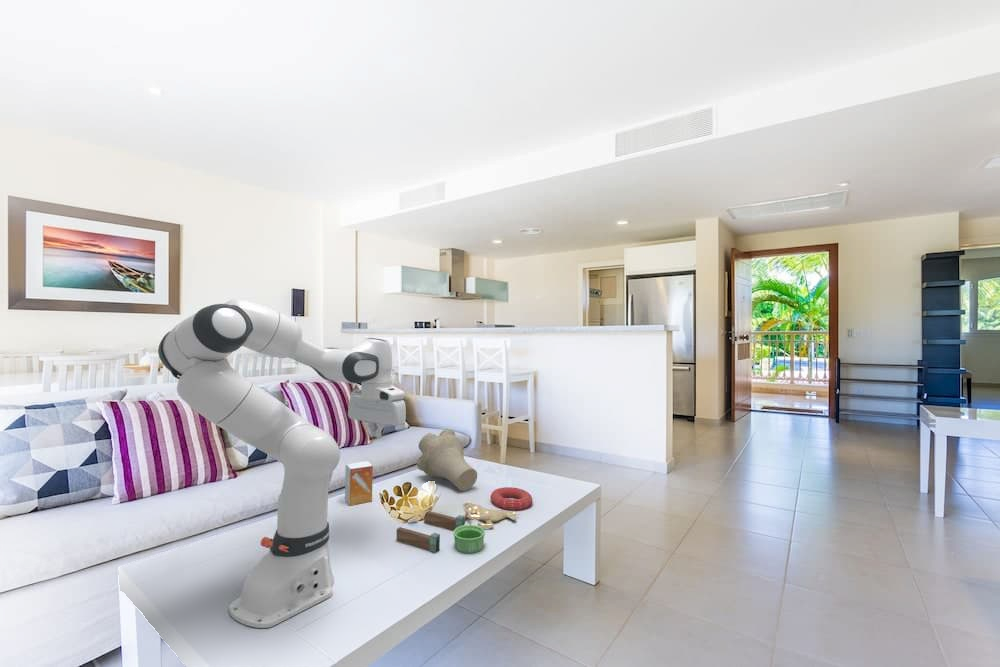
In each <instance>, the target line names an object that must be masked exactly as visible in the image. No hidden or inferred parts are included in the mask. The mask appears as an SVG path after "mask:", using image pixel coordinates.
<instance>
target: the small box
mask: <svg viewBox="0 0 1000 667" xmlns="http://www.w3.org/2000/svg"><path fill="white" fill-rule="evenodd" d="M373 467H374V466H373V464H371V463H370V462H369V460H365V461H359V462H353V463H347V464H345V475H344V476H345V483H344V500H345V502H346V503H347V504H348V506H354V505H359V504H364V503H365V504H366V503H372V501H373V480H374V479H373V472H374V470H373V469H374V468H373Z"/></svg>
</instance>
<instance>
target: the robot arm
mask: <svg viewBox="0 0 1000 667" xmlns="http://www.w3.org/2000/svg"><path fill="white" fill-rule="evenodd" d="M241 347H244V348H246V349H249V350H252V351H254V352H257V353H259V354H262V355H265V356H269V357H273V358H279V359H286V358H288V359H290V360H291V359H292V360H294V361H296V362H298V363H300V364H304V365H305V366H308V367H310V368H311V369H313V370H314V371H315V372H316V374H318V376H319V377H321V378H322V379H323V380H325V381H328V382H339V383H345V384H346V383H347V384H353V385H354V384H360V383H361V384H360V385H361V389H357V388H354V389H353V390H352V391H351V392H350V398H349V402H348V411H347V416H348V418H349V419H350V420H355V421H362V422H367V423H366V425H367V428H368V431H369V436H370V437H372V438H376V439H377V438H382V431H384V430H383V429H384V427H385V425H387V426H394V427H399V426H402V425H404V424H405V422H406V420H407V409H406V402H405V400H404V399H405V398H406V392H405V391H404V390H402V389H400V388H398V387H396V386H394V385H393V384H392V378H391V372H392V371H391V370H392V368H393V367H392V366H393V355H392V347H391V344H390V342H389V341H387V340H385V339H381V338H375V337H367V338H365V339H364V340H363V341H362V342H361V343H360V344H357V346H354V347H352V348H350V349H346V348H345V349H344V348H339V347H321V346H319V345H317V344H315V343H313V342H311V341H309V340H306V339H304V338H303V330H302V328H301V325H300V324H299V323H298V322H297V321H295V320H294V319H293V318H291V317H290V316H288V315H286V314H284V313H283V312H280V311H278V310H276V309H274V308H271V307H270V306H269V307H268V306H265V305H264V304H260V303H258V302H254V301H250V300H246V299H243V298H233V299H230V300H228V301H226V302H225V303H216V304H210V305H208V306H205V307H203V308H201V309H200V310H198V311H197V312H196V313H194V314H192V315H190V316H189V317H187V318H184V319H183V320H181V321H180V322H179V323H177V324H176V325H175V326H174V327H173V328H172V329H171V330H170V331H168V332H167V333H166V334H164V336H163V337H162V339H161V341H160V342H159V345H158V350H157V352H158V353H157V354H158V357H159V359H160V361H161V363H162V364H163V366H164V367H165V368H166V369H167V370H168V371H170V373H171V375H172V376H173V377H174V378H175V379H178V382H177V386H176V391H177V394H178V396H179V398H180V399H182V400H183V402H185V403H186V405H188V406H189V407H190V408H191V409H193V410H194V411H195V412H197V414H199V415H201V416H202V417H203V418H205V419H206V420H208V421H209V422H211V423H212V424H214V425H216V426H217V427H219V428H221V429H222V430H223V431H226V432H227V433H229V434H230V435H232V436H234V437H235V438H237V439H239V440H240V441H242V442H244V443H245V444H248V445H249V446H252V447H253V448H255V449H257V450H259V451H261V452H263V453H265V454H266V455H269V456H270V457H272V458H273V459H275V460H276V461H278V462H280V463H281V464H282V465H283V470H284V473H283V474H284V476H283V482H282V488H281V490H280V493H279V495H278V498H277V518H276V520H277V521H276V522H277V526H276V527H277V529H276V530H275V533H274V535H273V538H269V537H267V536H264V537H263V538H261V540H260V546H261V547H263V548H267V549H269V551H268V552H267V553H266V554H265V555H264V556H263V558H262V559H261V560H260V561H259V562H258V563H257V565H256V566H255V567H254V568H253V569H252V570H251V572H250V573H249V574H248V575H246V576H245V579H244V581H243V583H242V584H243V585H242V589H241V595H240V596H239V597H237V598H236V599H235V600H234V601H232V602H231V603H229V606H228V612H229V613H228V614H229V615H230V616H231V618H233V619H234V620H235V621H237V622H239V623H241V624H243V625H244V626H245V625H246V626H248V627H252V628H258V629H269V628H271V627H274V626H276V625H278V624H280V623H281V622H283V621H286V620H288V619H289V618H292V617H293V616H295V615H296V616H297V614H299V613H301V612H304V611H305V610H307V609H309V608H311V607H314V606H315V605H317V604H319V603H321V602H323V601H325V600H326V599H328V598H331V597H332V596H333V584H334V581H335V577H334V575H333V572H332V567H331V562H330V553H329V544H328V543H329V540H330V522H329V521H328V512H329V510H328V508H329V504H328V503H329V502H328V501H329V491H330V485H331V481H332V476H333V472H334V471H335V470H336V469H337V467H338V465H339V462H340V460H341V459H340V458H341V451H340V450H341V449H340V447H339V445H338V443H337V442H336V440H335V438H334V437H333V436H332V435H331V434H330V433H329V432H328V431H325V430H324V429H322V428H320V427H318V426H316V425H314V424H312V423H311V422H309V420H306V419H304V418H303V417H302V416H301V415H299V413H296V412H295V411H294V410H293V409H291V408H290V407H288V406H287V405H286V404H284V402H282V401H280V400H279V399H278V398H276V397H275V396H273V395H272V394H270V393H269V392H267V391H266V390H264V389H263V388H262V387H260V386H258V385H257V383H254V382H253V381H252V380H250V379H248V378H247V377H245V376H244V375H242V374H240V373H239V372H237V371H236V370H235V369H234V368H233V366H231V364H230V362H229V361H228V357H229V356H230V355H231V354H232V353H234V352H236V351H237V350H239V349H240V348H241ZM376 427H377V428H376Z"/></svg>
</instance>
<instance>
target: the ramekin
mask: <svg viewBox="0 0 1000 667" xmlns="http://www.w3.org/2000/svg"><path fill="white" fill-rule="evenodd" d="M485 534H486V531H485V528H481V527H479V526H478V525H475V524H465V525H463V526H460V527H457V528H456V529H455V530H454V531H453V537H454V539H453V540H454V546H455V549H456V550H457V552H458V551H459V552H460V553H464V554H473V553H478V552H480V551H481V550H482V549H483V547H484V539H485Z"/></svg>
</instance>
